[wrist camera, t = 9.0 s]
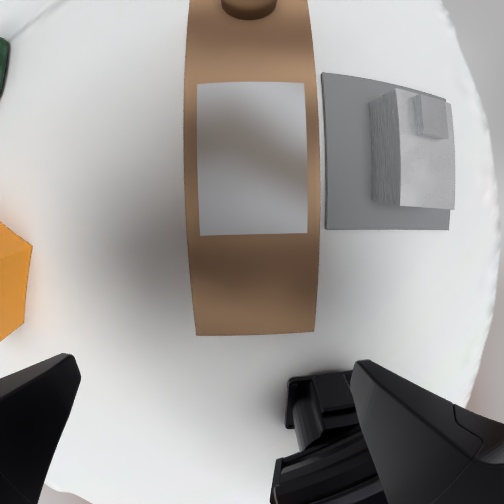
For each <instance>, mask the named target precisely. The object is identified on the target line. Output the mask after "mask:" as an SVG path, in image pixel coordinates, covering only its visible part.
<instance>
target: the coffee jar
mask: <svg viewBox="0 0 504 504" xmlns="http://www.w3.org/2000/svg"><path fill="white" fill-rule="evenodd" d="M7 53H8V44H7V41H6V40H5V39H3V38H1V37H0V91H1V88H2V84H3V79H4V73H5V67H6V61H7Z"/></svg>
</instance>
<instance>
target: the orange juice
mask: <svg viewBox="0 0 504 504" xmlns="http://www.w3.org/2000/svg"><path fill="white" fill-rule="evenodd" d="M32 247H33V246H32V245H30V244H29V243H27V242H26V241H25V240H23V239H22V238H21V237H19V236H18V235H17V234H15V233H14V232H13V231H11V230H10V229H9V228H7V227H6V226H5V225H4V224H2V223H1V222H0V342H1V341H2V340H3V339H4V338H5V337H7V336H8V335H9V334H10V333H12V332H13V331H14V330H15V329H17V328H18V327H19V326H20V325H22V324H23V323H24V311H25V298H26V288H27V279H28V271H29V265H30V258H31V252H32Z"/></svg>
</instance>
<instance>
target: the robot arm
mask: <svg viewBox="0 0 504 504" xmlns="http://www.w3.org/2000/svg"><path fill="white" fill-rule="evenodd" d="M80 381H81V374H80V371H79V368H78V366H77V363H76V360H75V358H74V356H73V355H71V354H66V353H61V354H59V355H56V356H54V357H52V358H49V359H47V360H45V361H42V362H40V363H37V364H35V365H32V366H30V367H28V368H25V369H23V370H20V371H18V372H15V373H13V374H11V375H8V376H6V377H3V378H1V379H0V504H37V503H38V500H39V497H40V493H41V490H42V487H43V484H44V481H45V478H46V475H47V472H48V469H49V466H50V463H51V461H52V458H53V455H54V453H55V450H56V447H57V445H58V442H59V440H60V437H61V435H62V432H63V430H64V427H65V425H66V422H67V420H68V418H69V415H70V412H71V409H72V406H73V403H74V399H75V396H76V393H77V390H78V387H79V384H80ZM293 383H296V384H294V385H293ZM290 424H291V425H290ZM285 427H286V428H287V429H295V430H296V435H297V440H298V445H299V450H300V452H298V453H296V454H293V455H290V456H288V457H285V458H283V457H282V458H279V459H276V463H275V470H274V476H273V482H272V488H271V495H270V503H271V504H504V424H503V423H500V422H497V421H494V420H491V419H488V418H486V417H483V416H481V415H478V414H475V413H473V412H470V411H469V410H466V409H464V408H462V407H460V406H458V405H456V404H453V403H452V402H450V401H448V400H446V399H444V398H442V397H440V396H438V395H436V394H434V393H432V392H430V391H428V390H426V389H424V388H422V387H420V386H418V385H416V384H414V383H412V382H410V381H408V380H406V379H404V378H403V377H401V376H399V375H397V374H395V373H393V372H391V371H389V370H387V369H386V368H384V367H382V366H380V365H378V364H376V363H374V362H373V361H371V360H368V359H366V360H359V361H357V362H355V365H354V368H353V371H350V372H343V373H336V374H328V375H320V376H310V377H300V378H292V379H290V380H289V381H288V389H287V403H286V415H285Z"/></svg>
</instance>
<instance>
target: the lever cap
mask: <svg viewBox="0 0 504 504" xmlns="http://www.w3.org/2000/svg"><path fill="white" fill-rule="evenodd" d="M369 117H370V135H371V201H377V202H382V203H388V204H393V205H398V206H410V207H426V208H439V209H451V210H454V203H455V147H454V132H453V121H452V111H451V104H449V103H446V102H445V101H442V100H439V99H436V98H433V97H430V96H426V95H423V94H417V93H414V92H410V91H406V90H402V89H398V88H395V89H393V90H391V91H389V92H387V93H385V94H384V95H382V96H380V97H378V98H377V99H375V100H373V101H371V102H369Z"/></svg>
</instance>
